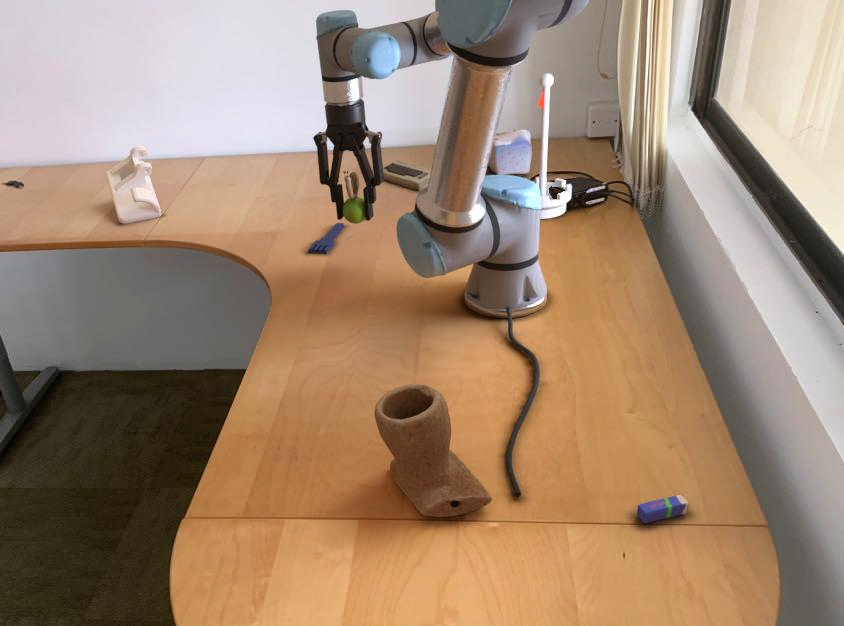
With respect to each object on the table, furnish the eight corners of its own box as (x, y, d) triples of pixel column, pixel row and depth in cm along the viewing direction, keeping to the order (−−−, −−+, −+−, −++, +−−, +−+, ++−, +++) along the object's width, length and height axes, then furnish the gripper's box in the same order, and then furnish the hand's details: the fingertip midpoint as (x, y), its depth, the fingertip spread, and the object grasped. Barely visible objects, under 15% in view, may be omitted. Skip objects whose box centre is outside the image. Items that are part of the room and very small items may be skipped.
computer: (377, 178, 220) (376, 166, 218) (400, 170, 224) (399, 158, 222) (419, 191, 210) (418, 178, 208) (442, 182, 214) (441, 169, 212)
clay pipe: (369, 471, 120) (360, 383, 112) (445, 448, 123) (441, 361, 114) (411, 538, 108) (404, 445, 100) (494, 511, 111) (494, 418, 102)
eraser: (687, 514, 107) (689, 502, 106) (643, 525, 106) (645, 513, 105) (678, 505, 108) (680, 493, 107) (636, 515, 108) (637, 503, 107)
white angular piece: (167, 230, 217) (161, 194, 206) (123, 239, 215) (114, 203, 203) (150, 175, 226) (143, 138, 215) (107, 184, 224) (98, 146, 212)
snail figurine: (338, 229, 171) (332, 171, 164) (348, 217, 176) (342, 160, 169) (364, 229, 169) (359, 171, 163) (373, 217, 174) (368, 160, 168)
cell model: (492, 139, 204) (472, 119, 221) (492, 182, 210) (473, 159, 227) (544, 131, 205) (521, 112, 222) (543, 175, 211) (520, 153, 227)
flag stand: (524, 196, 201) (528, 64, 184) (578, 202, 195) (587, 66, 178) (503, 216, 192) (505, 79, 175) (559, 223, 186) (566, 82, 169)
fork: (326, 254, 184) (325, 250, 183) (308, 252, 185) (308, 249, 185) (348, 226, 195) (348, 223, 195) (331, 226, 197) (331, 222, 196)
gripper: (396, 94, 159) (404, 212, 172) (306, 96, 165) (320, 209, 178) (384, 105, 153) (393, 226, 166) (291, 106, 159) (307, 223, 172)
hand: (355, 217), depth 172 cm, fingers closed on snail figurine, 5 cm apart
